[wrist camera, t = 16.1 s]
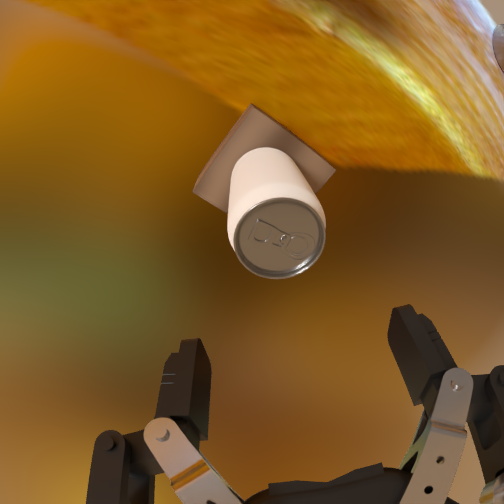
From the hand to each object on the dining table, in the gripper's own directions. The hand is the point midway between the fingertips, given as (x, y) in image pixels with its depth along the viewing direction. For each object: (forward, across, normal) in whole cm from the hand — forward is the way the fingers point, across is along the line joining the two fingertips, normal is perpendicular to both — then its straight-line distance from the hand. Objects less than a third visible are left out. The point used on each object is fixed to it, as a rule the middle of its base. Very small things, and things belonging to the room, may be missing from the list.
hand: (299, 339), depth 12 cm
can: (+20, 0, 0) cm, 20 cm away
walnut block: (+26, 0, 0) cm, 26 cm away
